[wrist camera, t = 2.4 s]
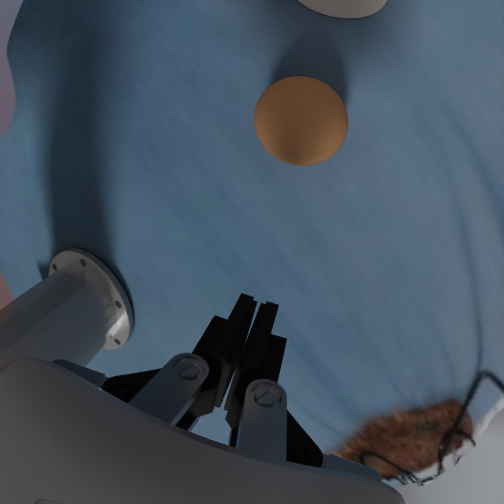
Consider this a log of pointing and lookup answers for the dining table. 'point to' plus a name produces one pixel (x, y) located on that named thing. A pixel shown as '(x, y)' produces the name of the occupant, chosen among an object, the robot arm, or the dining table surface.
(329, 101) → the ball
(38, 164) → the dining table surface
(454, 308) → the dining table surface
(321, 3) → the plain round gray disc
